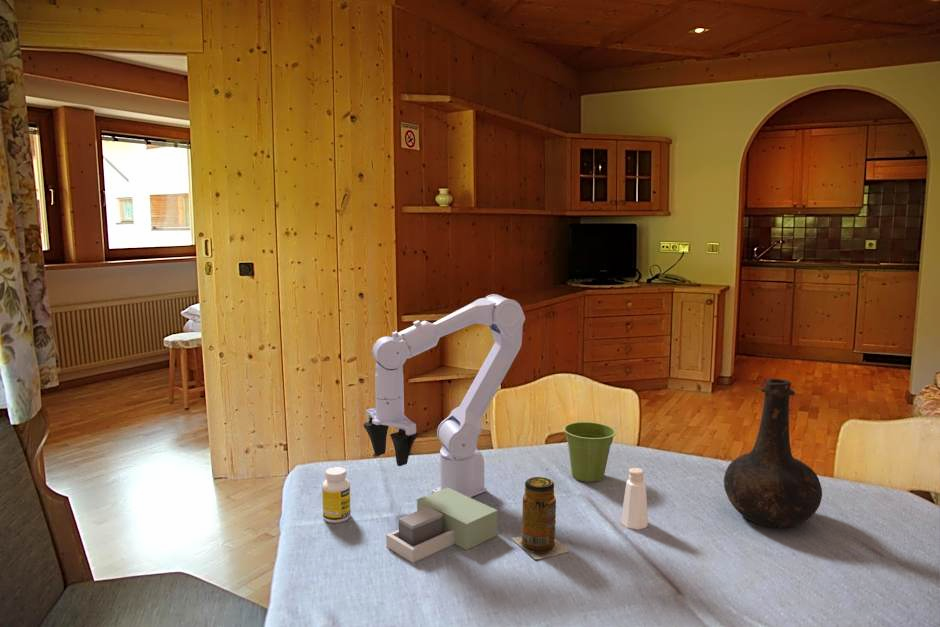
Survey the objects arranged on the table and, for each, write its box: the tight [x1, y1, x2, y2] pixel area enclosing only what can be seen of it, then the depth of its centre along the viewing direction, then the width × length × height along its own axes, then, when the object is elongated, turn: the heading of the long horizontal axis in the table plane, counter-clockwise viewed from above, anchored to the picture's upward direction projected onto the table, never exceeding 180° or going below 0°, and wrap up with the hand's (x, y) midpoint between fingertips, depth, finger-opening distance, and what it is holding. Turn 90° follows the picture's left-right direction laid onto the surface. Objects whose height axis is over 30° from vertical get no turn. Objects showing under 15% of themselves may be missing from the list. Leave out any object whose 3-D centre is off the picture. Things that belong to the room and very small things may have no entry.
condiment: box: [511, 476, 570, 560], centre depth 121 cm, size 7×8×12 cm
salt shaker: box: [620, 467, 649, 530], centre depth 130 cm, size 5×5×11 cm
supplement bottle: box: [321, 466, 351, 524], centre depth 132 cm, size 5×5×10 cm
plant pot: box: [562, 421, 617, 483], centre depth 152 cm, size 12×12×11 cm
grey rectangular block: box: [398, 507, 443, 547], centre depth 122 cm, size 7×4×5 cm, turn 133°
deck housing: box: [385, 488, 498, 564], centre depth 124 cm, size 18×14×5 cm
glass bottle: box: [723, 378, 823, 528], centre depth 131 cm, size 18×18×28 cm
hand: (390, 459), depth 138 cm, fingers open, 7 cm apart
